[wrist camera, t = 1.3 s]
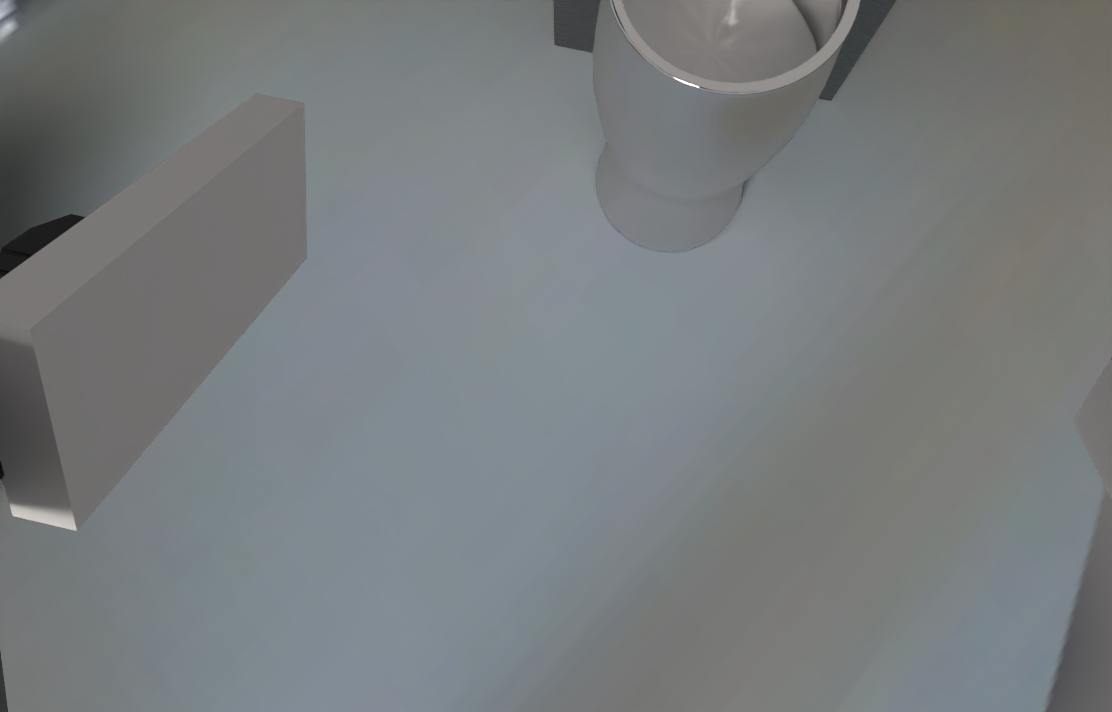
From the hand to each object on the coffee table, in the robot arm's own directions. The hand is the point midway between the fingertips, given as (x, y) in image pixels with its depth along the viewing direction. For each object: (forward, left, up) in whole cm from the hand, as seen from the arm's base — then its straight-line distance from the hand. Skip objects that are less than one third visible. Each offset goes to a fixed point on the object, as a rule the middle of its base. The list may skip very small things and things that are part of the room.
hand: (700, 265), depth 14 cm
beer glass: (-7, +7, -22) cm, 25 cm away
